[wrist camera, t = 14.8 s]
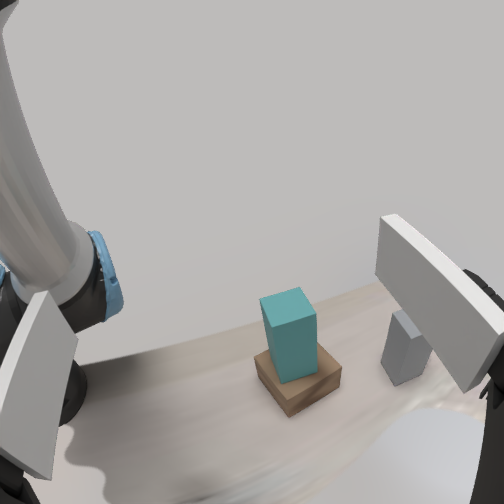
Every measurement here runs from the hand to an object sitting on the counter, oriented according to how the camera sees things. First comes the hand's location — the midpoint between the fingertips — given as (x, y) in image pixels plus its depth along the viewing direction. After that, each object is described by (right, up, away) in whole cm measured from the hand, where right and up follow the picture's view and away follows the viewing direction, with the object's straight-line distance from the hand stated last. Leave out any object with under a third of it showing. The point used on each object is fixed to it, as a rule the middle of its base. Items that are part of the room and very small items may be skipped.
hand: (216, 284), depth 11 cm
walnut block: (+8, -17, +29) cm, 34 cm away
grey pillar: (+22, -15, +27) cm, 38 cm away
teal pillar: (+6, -13, +26) cm, 29 cm away
